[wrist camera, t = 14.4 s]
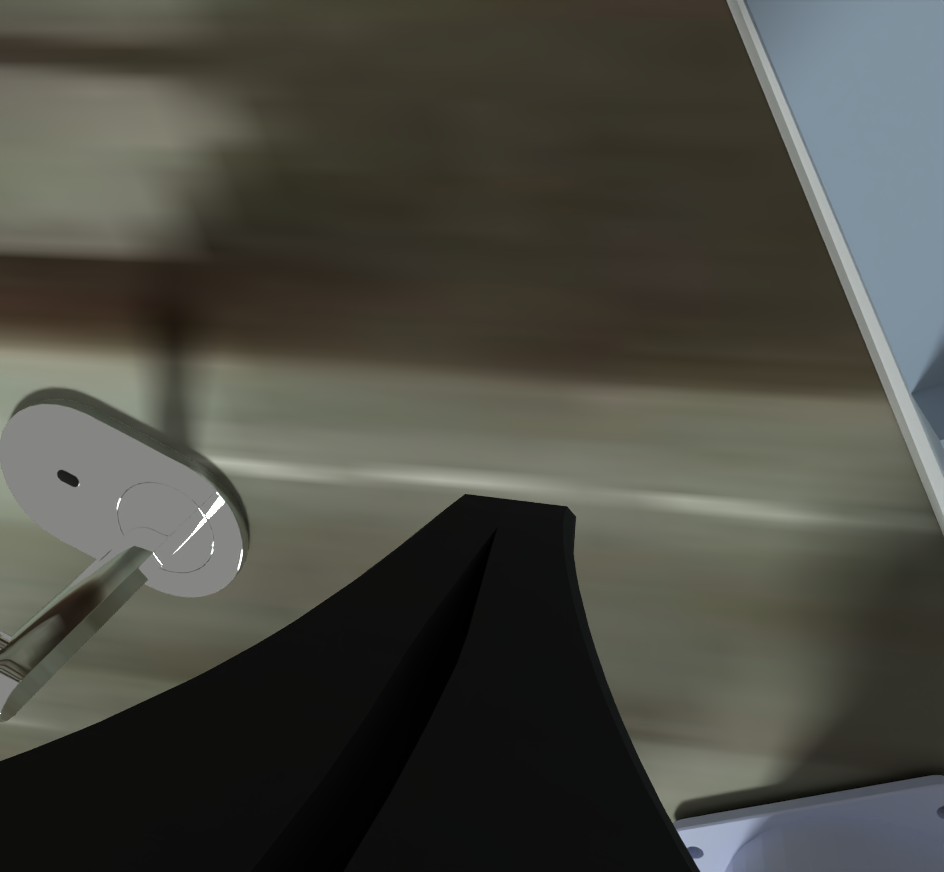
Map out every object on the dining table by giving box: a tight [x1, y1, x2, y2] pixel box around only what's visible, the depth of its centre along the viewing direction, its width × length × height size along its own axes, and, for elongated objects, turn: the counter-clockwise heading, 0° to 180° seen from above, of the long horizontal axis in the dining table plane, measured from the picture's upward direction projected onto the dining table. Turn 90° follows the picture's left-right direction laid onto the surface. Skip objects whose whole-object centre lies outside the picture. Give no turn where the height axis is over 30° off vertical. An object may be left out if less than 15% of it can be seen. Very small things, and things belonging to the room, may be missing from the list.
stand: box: [0, 399, 249, 722], centre depth 21 cm, size 8×5×8 cm
